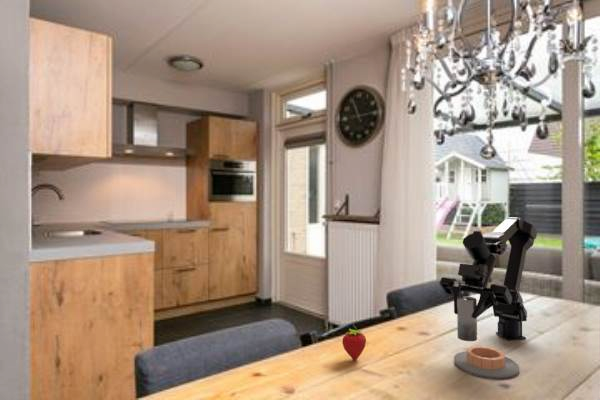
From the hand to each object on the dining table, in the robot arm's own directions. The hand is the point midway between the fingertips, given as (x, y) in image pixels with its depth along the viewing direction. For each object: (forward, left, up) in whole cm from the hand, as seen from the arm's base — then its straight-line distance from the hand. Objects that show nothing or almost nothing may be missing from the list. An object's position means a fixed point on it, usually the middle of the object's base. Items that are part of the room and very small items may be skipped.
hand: (464, 315), depth 107 cm
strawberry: (+29, -8, -14) cm, 33 cm away
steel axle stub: (-1, -1, -7) cm, 7 cm away
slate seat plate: (-5, +2, -13) cm, 14 cm away
